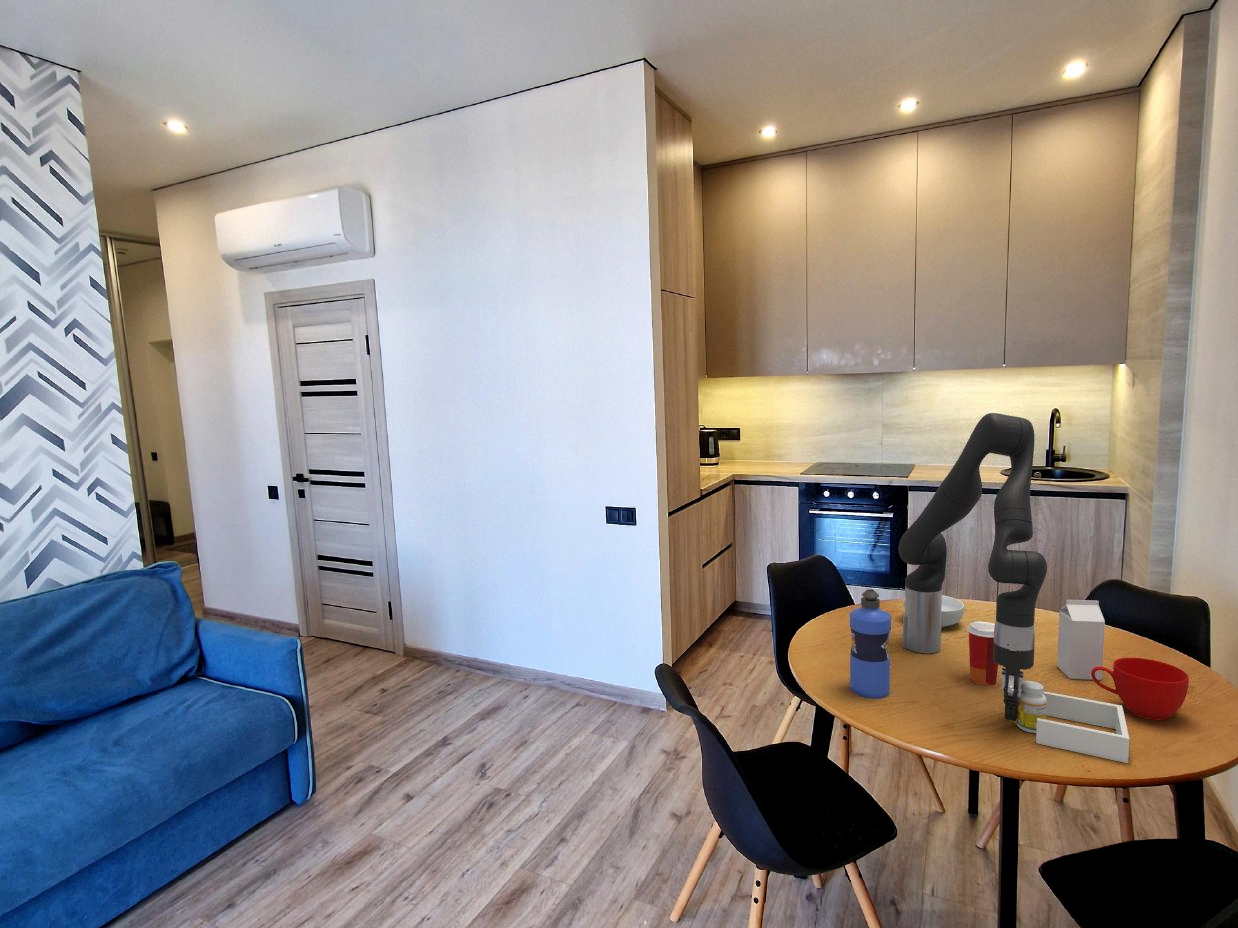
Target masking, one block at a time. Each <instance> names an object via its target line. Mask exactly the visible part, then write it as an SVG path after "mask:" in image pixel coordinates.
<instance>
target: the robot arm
mask: <svg viewBox="0 0 1238 928" xmlns="http://www.w3.org/2000/svg"><path fill="white" fill-rule="evenodd" d="M1034 451H1035V430H1034V426H1033V424H1032V422H1031V420H1029V419H1027V418H1024V417H1020V416H1014V415H1010V414H1004V413H1003V414H1002V413H997V412H990V413H985V415H983V416H982V417H981V418H980V419H979V420H978V422H977V424H976V425H975V427H974V429H973V431H972V433H971V434H970V436H969V438H968V440H967V442H966V443H965V445H964V448H963V449H962V451H961V453H960V455H959V457H958V458H957V460H956V462H955V463H954V465H953V466H952V468H951V469H950V471H949V472H948V474H947V475H946V476H945V478H944V479H943V480H942V482H941V483H940V485H939V486H938V488H937V490H936V491H935V493H934V495H933V496H932V498H931V499H930V500H929V502H928V503H927V504H926V506H925V507H924V509H923V511H922V512H921V514H920V515H918V517H917V518H916V519H915V520H914V522H913V523H912V524H911V525H910V526H909V527H908V528H907V529H906V531H905V532H904V533H902V534H903V535H902V536H901V538H900V540H899V543H898V554H899V557H900V559H901V560H902V561H903V562H904V563H906V564H907V565H911V566H917V568H916V569H915V570H913V571H912V572H910V573H909V574H907V575H906V577H905V580H904V581H905V582H904V583H905V584H904V587H905V589H904V594H905V595H904V598H905V609H904V613H903V616H902V617H903V618H902V648H903V649H908V650H909V651H911V652H916V653H919V654H935V653H939V652H940V651H941V645H942V628H941V608H942V595H943V583H944V581H945V579H946V569H947V567H946V566H947V557H948V547H947V546H948V545H947V542H946V541H947V540H946V539H945V536H944V535H943V532H944V531H946V530H948V529H949V528H951V527H953V526H954V525H956V524H958V523H959V522H960V521H962V520H963V519H965V518H966V517H967V516H968V515H969V514H970V512H971V511H972V510H973V509H974V508H975V506H976V505H977V503H978V502H979V501H980V498H981V497H982V494H983V483H982V479H981V478H982V477H981V472H980V466H981V464H982V462H983V460H984V459H985V458H986V456H987V455H989V454H994V455H998V456H1005V457H1009V459H1010V472H1009V475H1008V476H1007V477H1006V480H1005V481H1004V483H1003V485H1002V486H1001V488H1000V489H999V490H998V492H997V494H996V496H995V499H994V502H993V520H994V541H993V546H992V550H991V553H990V556H989V559H988V564H987V565H988V566H987V570H988V573H989V576H990V577H991V579H993V580H994V582H996V583H1000V584H1013V585H1015V584H1016V585H1022V586H1021V587H1020V588H1019V589H1017V590H1012V591H1007V592H1006V591H1005V592H1001V593H1000V594H998V595H997V598H996V606H995V609H996V610H995V622H994V624H995V627H994V644H993V660H994V661H995V662H996V663H997V664H998V666H1001V667H1002V669H1001V671H1002V672H1001V677H1000V678H1001V679H1000V680H1001V682H1002V690H1001V692H1002V694H1003V704H1004V719H1005V720H1007V721H1012V722H1017V706H1018V703H1019V702H1018V697H1020V696H1021V690H1022V689H1021V685H1022V684H1023V681H1024V671H1026V670H1031V668H1033V667H1034V664H1035V648H1036V647H1035V645H1036V644H1035V643H1036V641H1035V640H1036V631H1035V612H1036V604H1037V601H1038V596H1039V594H1040V591H1041V589H1042V586H1043V584H1044V581H1045V579H1046V577H1047V573H1048V562H1047V561H1046V558H1045V556H1043V554H1041V553H1040V552H1038V551H1034V550H1017V549H1016V550H1014V549H1008V546H1010V545H1015V544H1022V543H1026V542H1029V541H1031V539H1033V535H1034V529H1033V518H1032V517H1033V516H1032V507H1031V486H1032V485H1031V484H1032V474H1033V467H1034V466H1033V465H1034Z"/></svg>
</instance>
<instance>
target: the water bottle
mask: <svg viewBox="0 0 1238 928" xmlns="http://www.w3.org/2000/svg"><path fill="white" fill-rule="evenodd" d="M861 596H862V597H861V598H860V605H861V606H860V607H857V608H856V609H855V608H854V609H852V610H851V611H850V612H849V628H850V634H851V648H850V653H849V689H850V692H852V693H853V694H855V695H856V696H859V697H862V698H865V699H874V700H875V699H883V698H886V697H888V696H890V692H891V691H890V690H891V688H890V687H891V685H890V684H891V681H890V680H891V678H890V677H891V657H890V656H891V655H890V649H889V642H890V634H891V630H892V615H891V613H888V612H887V611H885V610H883V609H881V608H880V606H881V603H880V602H881V600H880V598H879V597H880V595H879V593H878V592H877V591H875V589H870V588H869V589H866V590H865V591H863V592H862V593H861Z"/></svg>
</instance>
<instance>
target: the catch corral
mask: <svg viewBox="0 0 1238 928" xmlns="http://www.w3.org/2000/svg"><path fill="white" fill-rule="evenodd" d="M1043 695H1044V696H1045V697H1046V699H1047V709H1046V717H1047V716H1049V717H1053V718H1058V719H1064V720H1068V721H1073V722H1077V723H1083V724H1087V725H1094V726H1096V727H1097V726H1098V727H1103V728H1109V729H1113V730H1115V733H1112V732H1108V731H1104V730H1099V729H1098V730H1097V729H1094V728H1089V727H1083V726H1078V725H1074V724H1068V723H1064V722H1059V721H1054V720H1050V719H1046V720H1045V719H1040V718H1037V733H1035V734H1036V736H1035V737H1036V740H1035V743H1036V744H1038V745H1044V746H1048V747H1051V748H1052V747H1053V748H1057V749H1062V750H1066V751H1071V752H1075V753H1080V754H1085V755H1089V756H1093V757H1098V758H1101V759H1106V760H1112V761H1116V762H1121V763H1125V764H1129V752H1130V734H1129V729H1128V726H1127V722H1126V717H1125V713H1124V708H1123V705H1121V704H1120V705H1119V704H1115V703H1109V702H1104V701H1099V700H1093V699H1089V698H1082V697H1076V696H1070V695H1065V694H1060V693H1056V692H1049V691H1045V690H1044V692H1043Z"/></svg>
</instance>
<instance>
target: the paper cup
mask: <svg viewBox="0 0 1238 928" xmlns="http://www.w3.org/2000/svg"><path fill="white" fill-rule="evenodd" d="M994 627H995V623H992V622H989V621H981V620H980V621H979V620H978V621H973V622H970V623H969V624H968V626H967V628H966V632H967V633H968V650H969V651H968V652H969V672H970V674H969V675H970V680H971V681H972V682H973V683H974V684H977V685H981V686H985V687H986V686H990V687H992V686H994V685H996V684H997V678H998V672H999V671H998V670H999V664H997V663H996V662H995V661H994V660H993V644H994Z"/></svg>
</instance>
